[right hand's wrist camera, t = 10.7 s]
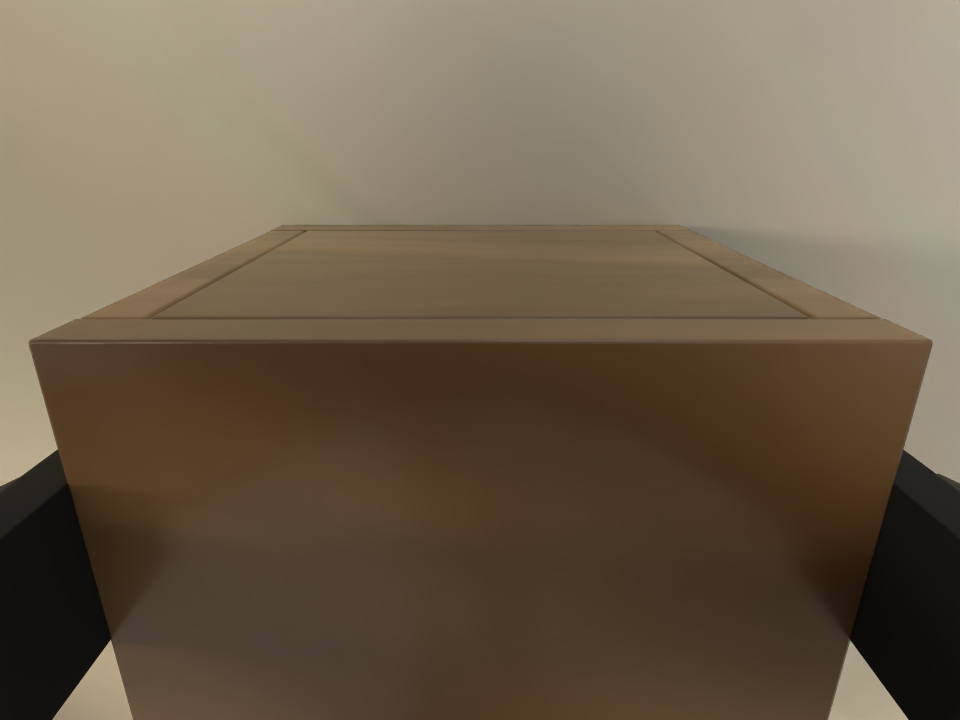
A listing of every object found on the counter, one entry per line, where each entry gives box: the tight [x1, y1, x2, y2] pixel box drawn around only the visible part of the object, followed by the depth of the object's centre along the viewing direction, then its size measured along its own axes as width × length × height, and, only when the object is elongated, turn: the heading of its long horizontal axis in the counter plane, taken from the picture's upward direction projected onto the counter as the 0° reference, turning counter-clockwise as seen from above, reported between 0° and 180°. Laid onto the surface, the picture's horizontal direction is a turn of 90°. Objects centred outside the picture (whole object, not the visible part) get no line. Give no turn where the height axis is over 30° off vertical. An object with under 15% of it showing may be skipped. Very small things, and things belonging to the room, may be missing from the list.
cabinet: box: [29, 225, 932, 720], centre depth 15 cm, size 19×11×10 cm, turn 0°
